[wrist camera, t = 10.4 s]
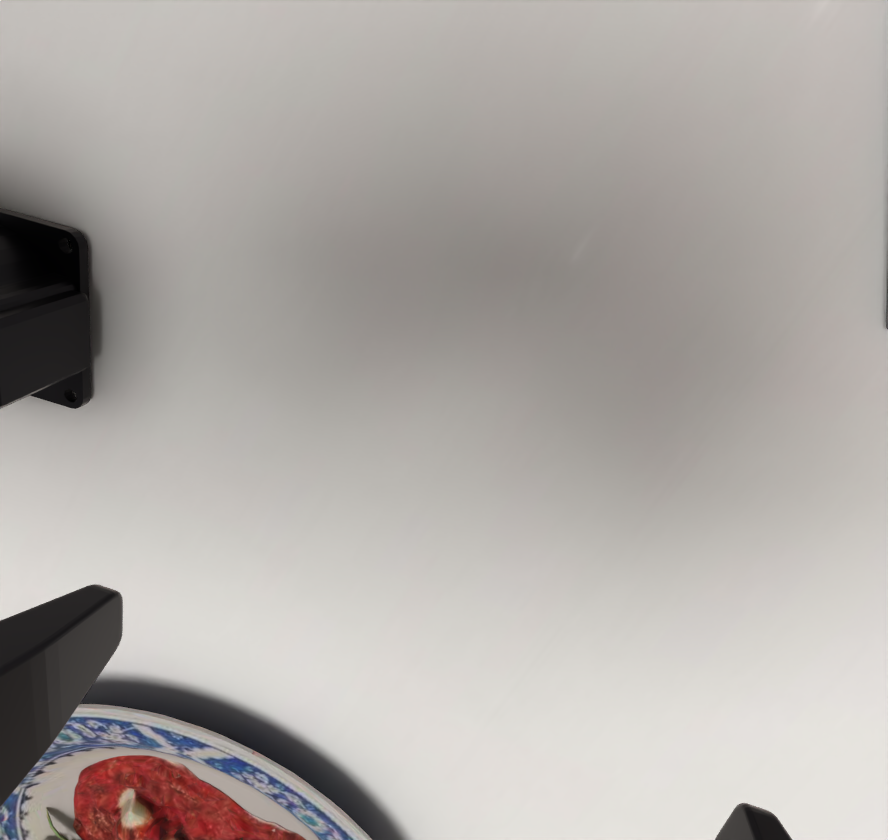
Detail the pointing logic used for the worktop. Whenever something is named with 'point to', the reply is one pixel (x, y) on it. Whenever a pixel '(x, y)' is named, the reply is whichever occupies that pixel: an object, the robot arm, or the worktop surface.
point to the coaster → (887, 311)
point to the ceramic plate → (163, 787)
